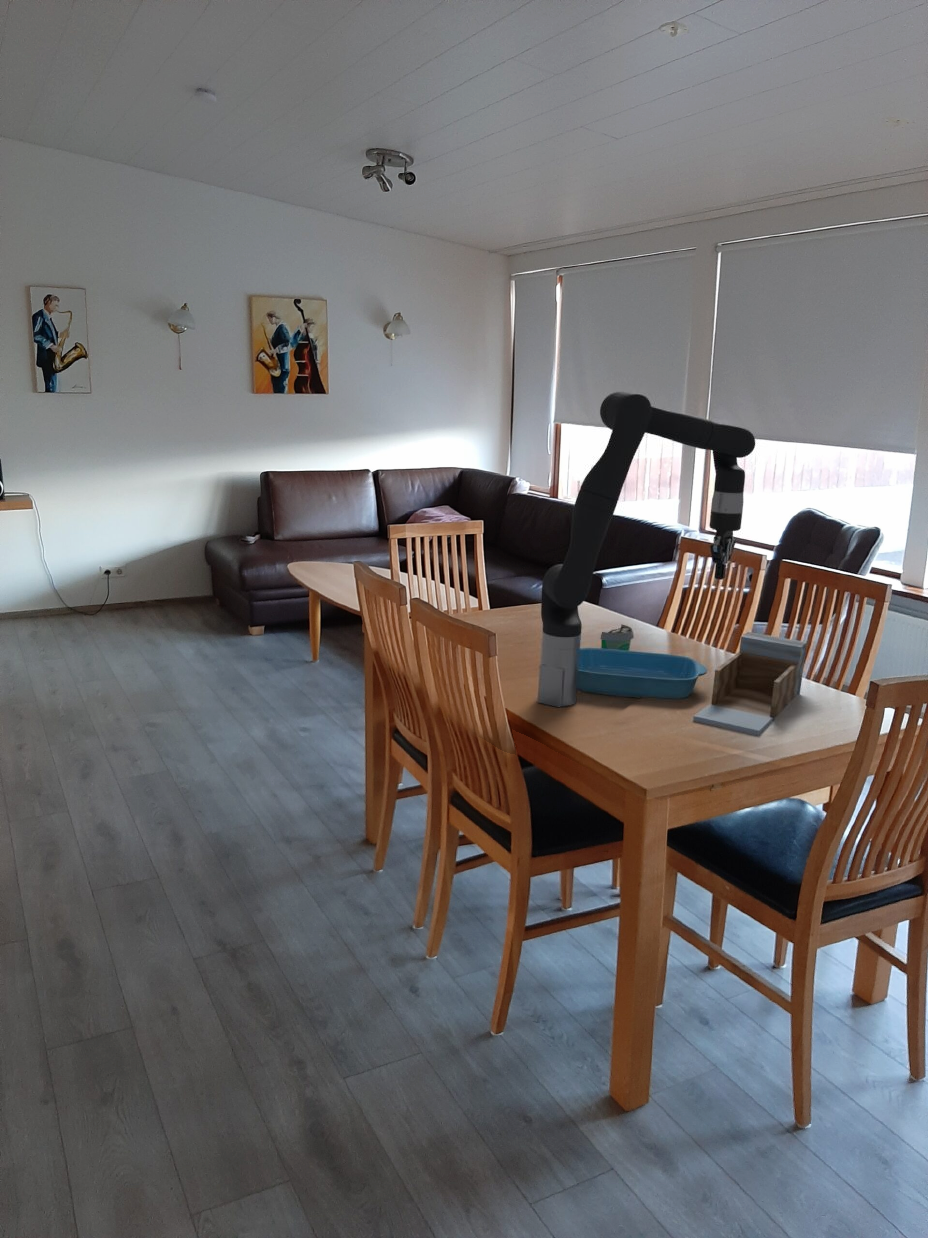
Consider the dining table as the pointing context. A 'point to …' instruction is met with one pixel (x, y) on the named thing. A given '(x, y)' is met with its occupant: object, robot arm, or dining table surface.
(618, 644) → the food container
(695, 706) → the dining table surface
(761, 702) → the box
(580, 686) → the casserole dish
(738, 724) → the panel
